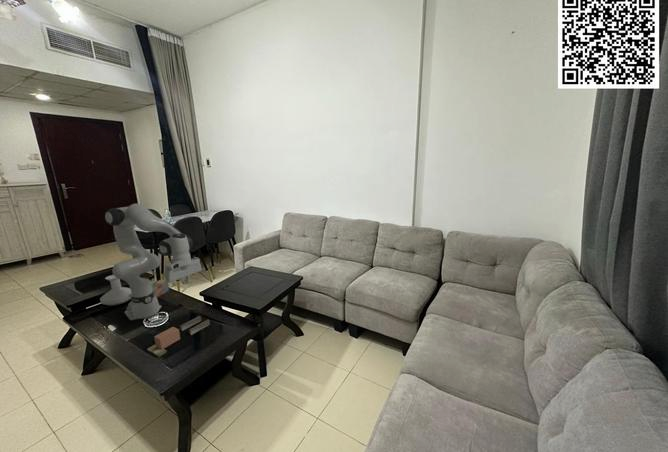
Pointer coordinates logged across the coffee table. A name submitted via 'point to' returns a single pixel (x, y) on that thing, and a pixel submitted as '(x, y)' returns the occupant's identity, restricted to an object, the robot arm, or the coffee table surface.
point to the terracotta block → (167, 337)
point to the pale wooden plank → (160, 352)
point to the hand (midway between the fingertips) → (185, 283)
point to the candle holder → (116, 293)
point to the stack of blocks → (159, 287)
